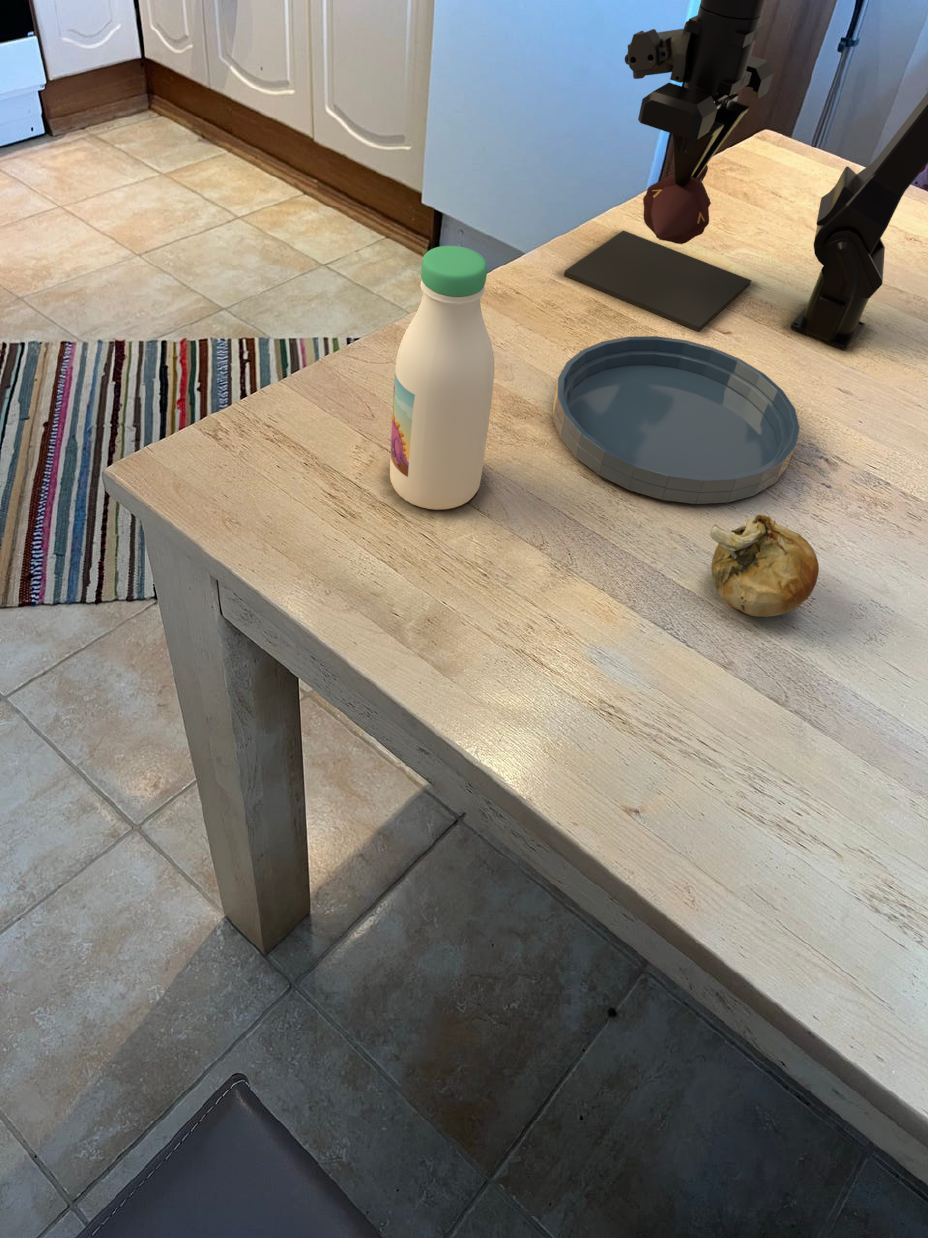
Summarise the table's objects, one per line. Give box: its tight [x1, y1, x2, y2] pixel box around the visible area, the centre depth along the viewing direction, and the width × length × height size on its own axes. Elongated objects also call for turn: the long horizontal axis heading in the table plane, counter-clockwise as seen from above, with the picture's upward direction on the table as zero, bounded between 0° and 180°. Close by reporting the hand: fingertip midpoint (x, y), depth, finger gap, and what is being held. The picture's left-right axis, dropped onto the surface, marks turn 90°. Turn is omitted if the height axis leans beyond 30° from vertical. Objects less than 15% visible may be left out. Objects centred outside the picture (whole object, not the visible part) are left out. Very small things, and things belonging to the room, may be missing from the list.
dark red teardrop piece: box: [642, 164, 712, 245], centre depth 100 cm, size 7×7×15 cm
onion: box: [709, 513, 820, 617], centre depth 72 cm, size 8×8×8 cm
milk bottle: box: [389, 245, 495, 511], centre depth 73 cm, size 8×8×20 cm
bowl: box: [552, 335, 801, 505], centre depth 88 cm, size 22×22×3 cm
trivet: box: [563, 230, 752, 332], centre depth 108 cm, size 14×17×1 cm
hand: (686, 180), depth 99 cm, fingers closed on dark red teardrop piece, 2 cm apart
